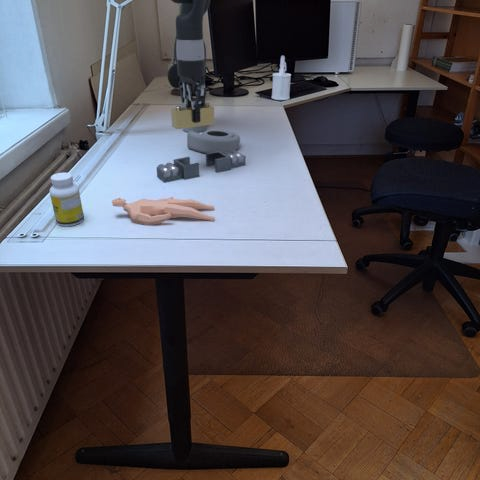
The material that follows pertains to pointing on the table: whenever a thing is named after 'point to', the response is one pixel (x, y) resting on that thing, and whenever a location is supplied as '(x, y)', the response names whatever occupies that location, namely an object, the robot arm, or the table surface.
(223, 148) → the turbocharger housing
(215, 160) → the chain ends
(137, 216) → the male figurine
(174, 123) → the brass block with pins
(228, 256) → the table surface
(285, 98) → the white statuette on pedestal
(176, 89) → the dark grey lump
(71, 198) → the pill bottle
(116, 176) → the table surface
